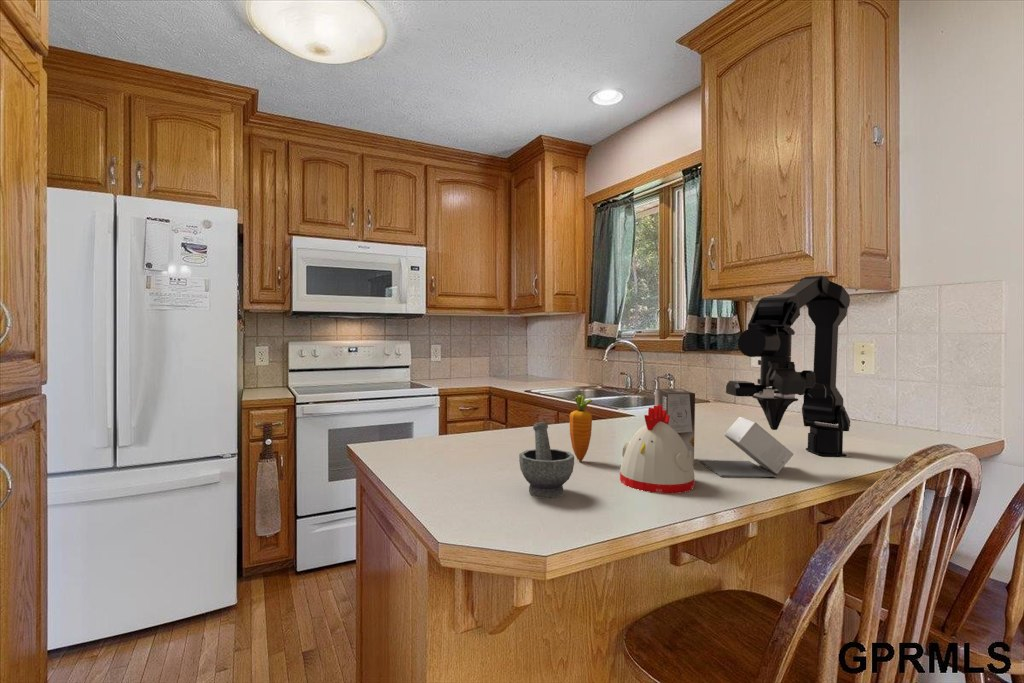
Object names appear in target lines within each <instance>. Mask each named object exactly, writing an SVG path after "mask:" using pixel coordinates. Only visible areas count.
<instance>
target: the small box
mask: <svg viewBox="0 0 1024 683" xmlns="http://www.w3.org/2000/svg"><path fill="white" fill-rule="evenodd" d="M723 435H724V437H725V438H727V439H728V440H729V441H730V442H732V444H734V445H735V446H736V447H737V448H739V449H740V450H741V451H742V452H744V453H745V454H746V455H747V456H749V458H751V459H752V460H753V461H754V462H756V463H757V465H758V466H760V467H761V466H762V468H764V469H767V471H768V470H769V471H770V472H772V473H774V474H775V475H778V474H779V473H780V471H781V470H782V469H783V468H784V467H785V465H787V463H788V462H789V461H790V460H791V458H792V457H794V453H793V451H791V450H789V448H787V447H786V445H783V444H782V443H781V442H780V441H779V440H778V439H776V438H775V437H774V436H773V435H771V433H770V432H768V431H767V430H765V429H764V428H763V427H762V426H760V425H759V424H758V423H757V422H755V421H753V420H750V419H748V418H745V417H743V416H739V417H737V419H736V420H735V421H734V423H733V424H732V425H730V427H729V428H728V429H727V430H726V431H725V433H724V434H723Z"/></svg>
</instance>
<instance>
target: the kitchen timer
mask: <svg viewBox="0 0 1024 683" xmlns="http://www.w3.org/2000/svg"><path fill="white" fill-rule="evenodd" d="M669 418H670V415H666V410H663V407H662V405H658V406H655V405H653V407H648V414H644V421H645V425H643V426H641V427H640V428H639V429H638V430H637V431H636V432H635V434H634V435H633V436H632V437H631V439H630V440H629V443H628V442H625V443H624V444H623V447H622V452H621V453H622V455H621V456H622V459H621V464H620V472H619V480H620V483H621V484H623V485H624V486H626V487H628V486H629V487H628V488H631V489H633V488H634V489H635V490H637V489H639V490H638V491H641V490H643V491H642V492H647V491H650V492H649V493H653V492H657V493H656V494H680V493H679V492H681V493H686V492H690V491H692V490H693V489H694V488H695V471H694V466H693V457H692V451H688V449H687V447H686V445H685V443H684V441H683V440H682V438H681V437H680V436H679V434H678V433H677V432H676V431H675V430H674V429H673V428H672V427H670V426H669V425H668V423H669ZM692 488H693V489H692ZM691 489H692V490H691ZM689 490H690V491H689ZM685 491H686V492H685Z"/></svg>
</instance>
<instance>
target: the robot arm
mask: <svg viewBox="0 0 1024 683" xmlns="http://www.w3.org/2000/svg"><path fill="white" fill-rule="evenodd" d="M850 297H851V296H850V294H849V293H848V291H847V290H846V288H844V286H842V285H840V284H837V283H835V282H833V281H831V280H830V279H829V278H828V277H827V276H825V275H810V276H809V275H808V276H804V277H801V278H800V280H799V281H798V282H797V283H795V284H794V285H793V286H791V287H789V288H788V289H785V291H783V292H782V293H779V294H773V295H767V296H765V297H762V298H760V299H759V300H758V301H757V304H756V305H755V308H754V310H753V313H752V314H751V318H750V320H749V322H748V323H747V329H745V330H744V331H743V332H742V333H741V334H740V336H739V337H738V340H737V347H738V349H739V351H740V352H741V353H742V355H744V356H745V357H749V358H760V359H759V360H757V366H760V375H759V377H760V378H757V384H755V382H751V381H746V380H729V381H728V382H727V383H726V385H725V394H727V395H732V396H734V397H749V398H750V397H752V399H756V400H757V402H758V404H759V406H760V407H761V409H762V411H763V414H764V416H765V418H766V421H767V422H768V425H769V427H770V429H771V430H772V431H777V430H778V429H779V426H780V425H781V422H782V420H783V417H784V414H785V413H786V412H787V409H788V407H789V406H790V405H791V404H793V403H794V402H798V401H799V398H797V397H796V395H798V396H803V403H802V405H801V414H802V420H803V421H802V422H803V426H804V427H806V428H807V427H808V428H809V432H808V433H807V447H805V450H806V451H808V452H810V453H813V454H815V455H817V456H821V457H822V456H823V457H824V456H825V457H827V456H828V457H829V456H830V457H846V456H847V453H845V452H843V448H844V447H843V446H844V441H843V440H844V437H843V436H844V432H850V427H851V420H850V416H849V414H848V413H847V412H848V411H847V410H846V407H845V406H844V398H843V396H842V394H841V392H840V391H839V389H838V387H837V369H838V367H837V366H838V346H839V344H838V341H839V340H838V339H839V326H840V325H841V323H843V321H844V319H845V318H846V317H847V314H848V308H849V306H850V303H851V298H850ZM804 306H806V308H807V313H808V314H807V315H808V317H809V318H810V319H811V321H812V323H813V324H814V347H813V348H814V349H813V350H814V351H813V353H814V354H813V370H811V369H810V370H807V369H806V370H802V371H796V364H795V362H794V361H792V338H793V336H794V335H795V334H796V332H795V330H794V329H793V328H792V326H793V325H794V323H795V322H796V321H797V320H798V318H799V317H800V316H801V308H803V307H804Z"/></svg>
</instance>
